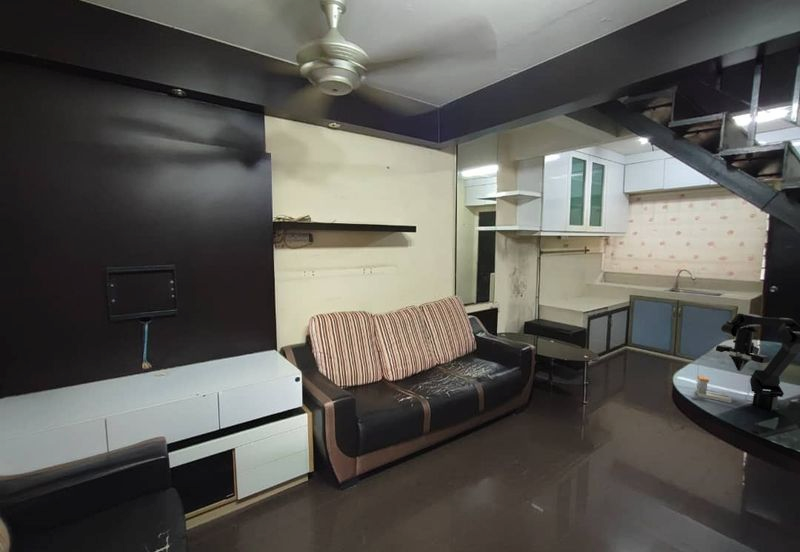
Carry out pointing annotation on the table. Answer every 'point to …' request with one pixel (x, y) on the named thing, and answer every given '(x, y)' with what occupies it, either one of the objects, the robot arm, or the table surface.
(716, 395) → the block
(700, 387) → the handle
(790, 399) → the table surface
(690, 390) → the table surface
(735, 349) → the robot arm
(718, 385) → the table surface
